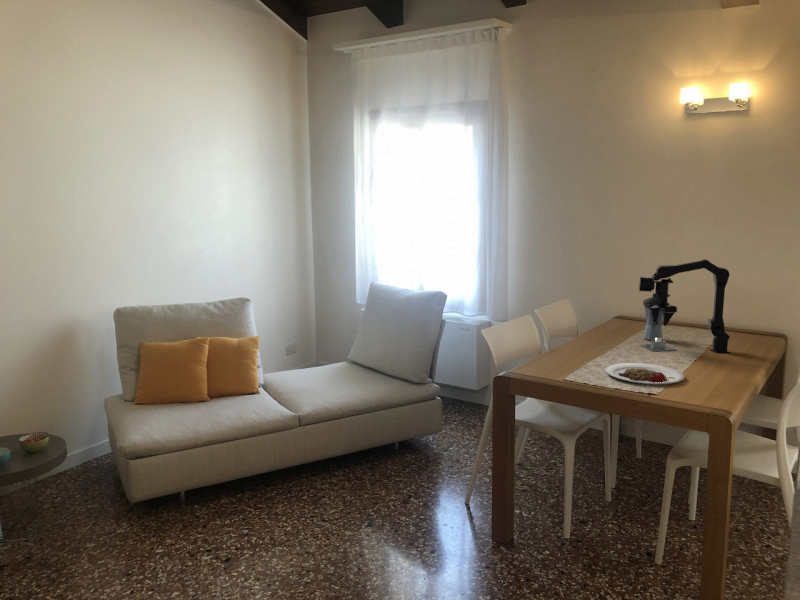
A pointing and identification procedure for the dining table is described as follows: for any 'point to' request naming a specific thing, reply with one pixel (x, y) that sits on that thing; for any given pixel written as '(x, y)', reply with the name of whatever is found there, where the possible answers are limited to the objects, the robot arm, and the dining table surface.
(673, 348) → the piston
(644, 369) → the plated food
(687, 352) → the dining table surface
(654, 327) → the moka pot
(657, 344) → the ring
